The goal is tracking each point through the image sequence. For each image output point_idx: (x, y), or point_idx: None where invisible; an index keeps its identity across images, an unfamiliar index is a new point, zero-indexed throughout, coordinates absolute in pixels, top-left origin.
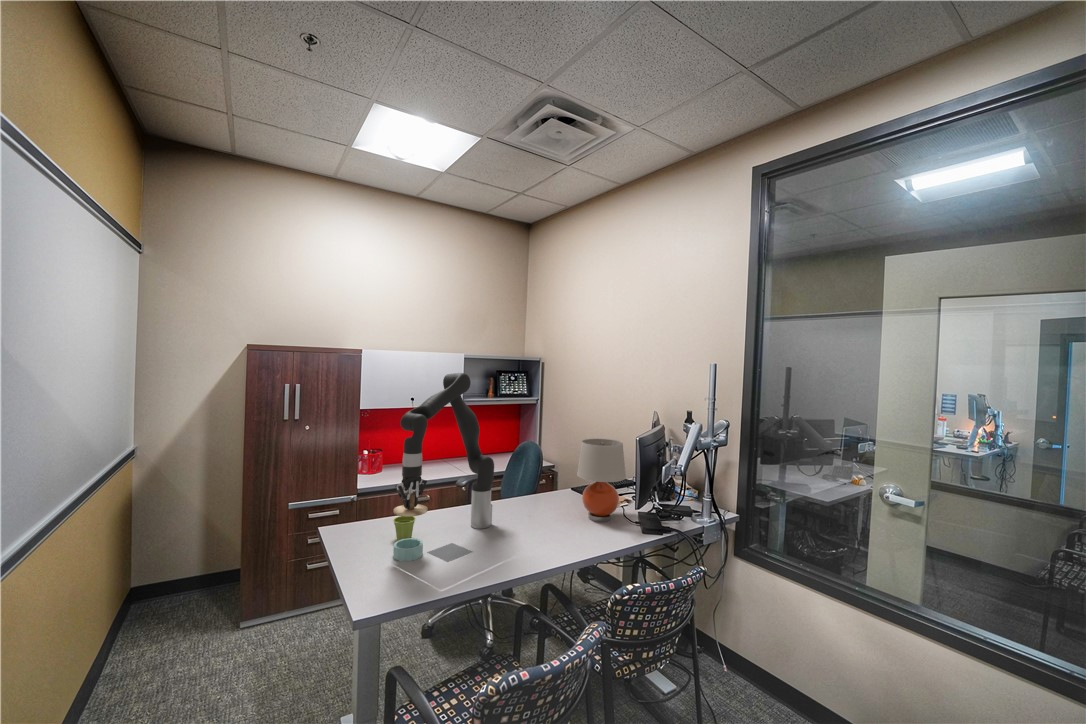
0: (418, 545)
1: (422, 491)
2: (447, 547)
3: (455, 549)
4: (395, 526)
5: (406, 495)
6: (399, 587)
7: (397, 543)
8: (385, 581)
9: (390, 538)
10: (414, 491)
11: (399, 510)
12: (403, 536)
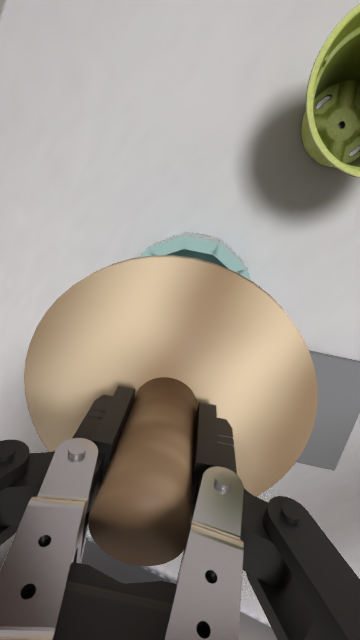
0: None
1: (290, 607)
2: (326, 378)
3: (323, 412)
4: (322, 70)
5: (86, 483)
6: (24, 415)
7: (168, 253)
8: (19, 359)
9: (314, 47)
10: (177, 578)
11: (79, 356)
12: (311, 151)
